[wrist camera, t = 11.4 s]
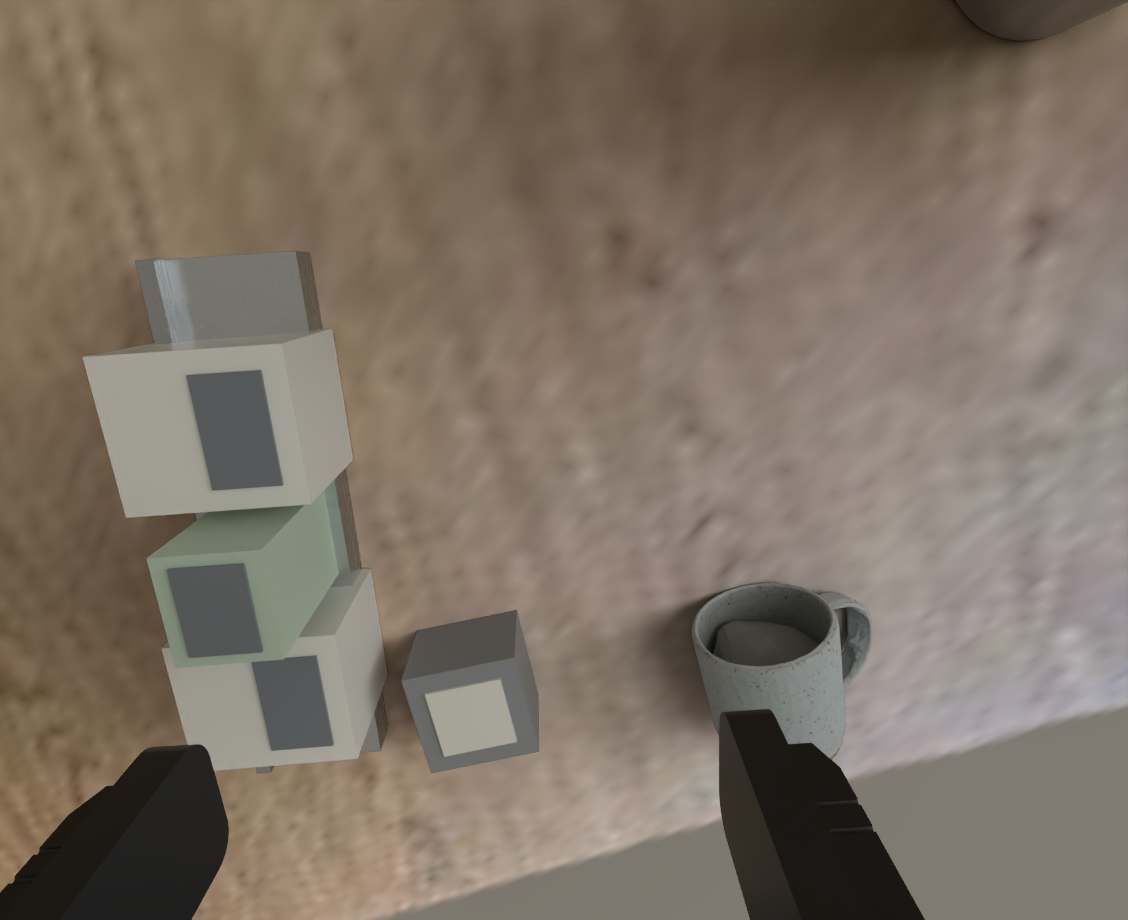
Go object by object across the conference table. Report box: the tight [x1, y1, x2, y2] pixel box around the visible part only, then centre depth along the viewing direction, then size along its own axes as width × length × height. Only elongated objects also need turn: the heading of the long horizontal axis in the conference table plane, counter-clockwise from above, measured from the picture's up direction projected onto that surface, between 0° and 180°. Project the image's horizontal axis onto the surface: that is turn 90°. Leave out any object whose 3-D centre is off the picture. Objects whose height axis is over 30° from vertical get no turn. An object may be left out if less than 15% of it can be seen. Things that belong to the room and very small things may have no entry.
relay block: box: [401, 610, 539, 773], centre depth 37 cm, size 6×6×5 cm
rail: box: [135, 251, 388, 773], centre depth 35 cm, size 7×28×3 cm, turn 4°
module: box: [146, 491, 338, 668], centre depth 30 cm, size 4×5×8 cm
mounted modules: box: [83, 328, 388, 771], centre depth 33 cm, size 8×20×7 cm, turn 4°
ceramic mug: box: [691, 583, 872, 760], centre depth 36 cm, size 11×8×8 cm
